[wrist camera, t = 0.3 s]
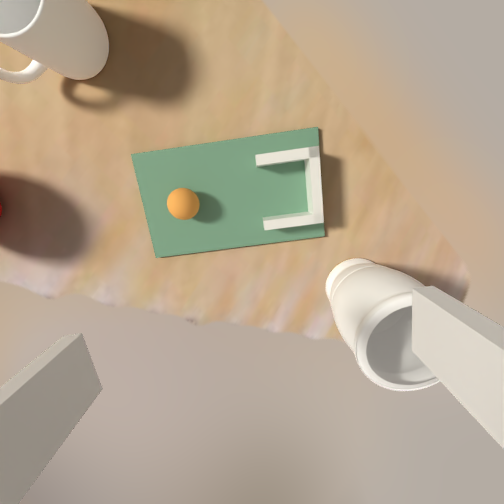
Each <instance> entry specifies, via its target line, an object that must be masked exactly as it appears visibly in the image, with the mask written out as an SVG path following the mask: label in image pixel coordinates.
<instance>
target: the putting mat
mask: <svg viewBox="0 0 504 504" xmlns="http://www.w3.org/2000/svg"><path fill="white" fill-rule="evenodd" d="M313 146H319V135H318V127H314V128H307V129H300V130H293V131H287V132H280V133H273V134H266V135H259V136H252V137H246V138H239V139H232V140H225V141H218V142H212V143H205V144H198V145H191V146H184V147H177V148H171V149H164V150H157V151H150V152H143V153H137V154H131V156H132V161H133V165H134V169H135V173H136V177H137V181H138V185H139V190H140V194H141V198H142V202H143V206H144V210H145V214H146V219H147V223H148V227H149V231H150V235H151V239H152V243H153V248H154V252H155V256H156V258H158V257H166V256H174V255H182V254H190V253H197V252H205V251H213V250H221V249H229V248H236V247H244V246H252V245H260V244H268V243H275V242H283V241H291V240H299V239H307V238H314V237H322V236H325V233H324V223H318V224H310V225H302V226H295V227H287V228H279V229H272V230H264V224H263V217H270V216H278V215H285V214H293V213H301V212H308V202H307V189H306V176H305V163H304V160H303V161H296V162H289V163H282V164H275V165H268V166H261V167H256V159H255V155H258V154H265V153H272V152H279V151H285V150H292V149H299V148H306V147H313ZM319 153H320V152H319ZM320 169H321V168H320ZM321 185H322V184H321ZM178 188H187V189H190V190H192V191H193V192H194V193H195V194H196V195H197V197H198V199H199V203H200V206H199V210H198V212H197V214H196V215H195V216H194V217H192V218H191V219H187V220H181V219H177V218H175V217H174V216H173V215H172V214H171V213H170V212H169V210H168V207H167V199H168V196H169V195H170V193H171V192H172V191H174V190H175V189H178ZM322 201H323V200H322ZM323 218H324V217H323Z"/></svg>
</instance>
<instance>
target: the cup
mask: <svg viewBox="0 0 504 504" xmlns="http://www.w3.org/2000/svg"><path fill="white" fill-rule="evenodd" d="M0 41H1V42H2V43H4V44H6V45H8V46H10V47H12V48H13V49H15V50H17V51H19V52H21V53H22V54H24V55H26V56H28V57H30V58H31V59H33V60H32V62H31V63H30V65H29V66H28V67H27V68H26V69H25V70H23V71H20V72H10V71H7V70H4V69H2V68H0V79H1V80H4V81H7V82H11V83H16V84H26V83H30V82H32V81H34V80H36V79H38V78H39V77H40V76H41V75H42V74H43V73H44V72H45V71H46V70H47V68H49V69H51V70H53V71H55V72H57V73H59V74H61V75H63V76H65V77H67V78H71V79H75V80H85V79H89V78H92V77H94V76H95V75H97V74H98V73H99V72H100V71H101V70H102V69H103V67H104V66H105V64H106V61H107V58H108V54H109V40H108V35H107V31H106V28H105V26H104V24H103V22H102V20H101V18H100V17H99V15H98V14H97V12H96V11H95V10H94V9H93V7H92V6H91V5H90V4H89V3H88V2H87V1H86V0H0Z"/></svg>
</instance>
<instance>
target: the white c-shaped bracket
mask: <svg viewBox="0 0 504 504" xmlns="http://www.w3.org/2000/svg"><path fill="white" fill-rule="evenodd" d="M255 159H256V167H261V166H268V165H275V164H282V163H289V162H296V161H303V160H304V163H305V176H306V189H307V202H308V212H301V213H293V214H285V215H278V216H270V217H263V224H264V230H272V229H279V228H287V227H295V226H302V225H310V224H318V223H324V218H323V201H322V185H321V169H320V153H319V146H313V147H306V148H299V149H292V150H285V151H279V152H272V153H265V154H258V155H255Z"/></svg>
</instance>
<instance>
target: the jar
mask: <svg viewBox="0 0 504 504" xmlns="http://www.w3.org/2000/svg"><path fill="white" fill-rule="evenodd" d="M419 287H426V286H425V285H423V284H422V283H420V282H419V281H418V280H416V279H414V278H413V277H411V276H409V275H407V274H405V273H403V272H400V271H398V270H395V269H391V268H388V267H385V266H382V265H379V264H375V263H374V262H372V261H370V260H367V259H362V258H354V259H349V260H346V261H344V262H342V263H340V264H338V265H337V266H336V267H335V268H334V269H333V270H332V271H331V273H330V274H329V276H328V278H327V281H326V293H327V296H328V298H329V300H330V304H331V308H332V312H333V316H334V320H335V323H336V325H337V328H338V330H339V332H340V334H341V336H342V337H343V339H344V340H345V342H346V343H347V345H348V346H349V347H350V348H351V350H352V351H353V352H354V354H355V358H356V361H357V363H358V365H359V367H360V369H361V371H362V372H363V373H364V374H365V376H366V377H367V378H368V379H369V380H371V381H372V382H373V383H375V384H377V385H379V386H381V387H383V388H387V389H390V390H395V391H413V390H418V389H423V388H426V387H429V386H432V385H434V384H436V383H438V382H440V380H439V379H438V378H437V377H436V376H435V375H434V374H433V373H432V372H431V371H430V369H429V368H428V367H427V366H426V365H425V364H424V363H423V362H422V361H421V360H420V359H419V358H418V357H417V356H416V354H415V353H414V352H413V351H412V288H419Z"/></svg>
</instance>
